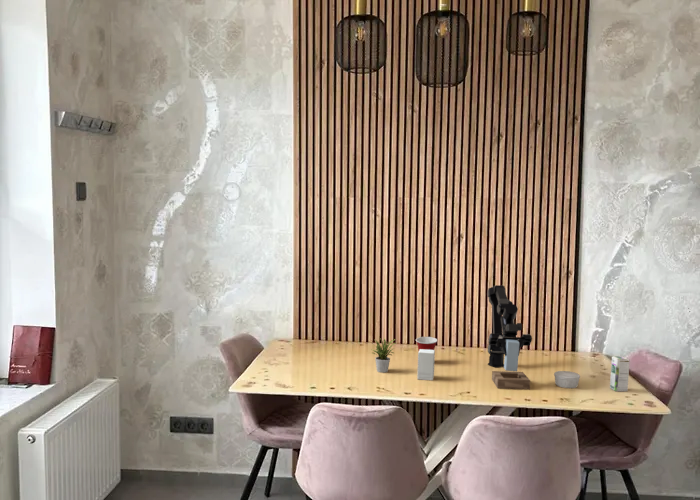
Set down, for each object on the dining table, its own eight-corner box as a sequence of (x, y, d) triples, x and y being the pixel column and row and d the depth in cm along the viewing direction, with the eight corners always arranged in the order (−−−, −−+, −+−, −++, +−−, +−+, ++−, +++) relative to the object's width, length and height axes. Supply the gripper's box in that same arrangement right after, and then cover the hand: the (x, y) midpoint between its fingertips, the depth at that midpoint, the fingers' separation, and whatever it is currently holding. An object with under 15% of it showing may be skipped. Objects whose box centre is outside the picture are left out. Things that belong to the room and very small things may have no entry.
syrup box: (609, 387, 300) (610, 355, 299) (621, 387, 301) (623, 355, 300) (615, 391, 295) (617, 359, 293) (628, 391, 295) (630, 359, 294)
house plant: (404, 369, 324) (405, 336, 323) (393, 376, 312) (394, 341, 310) (377, 366, 330) (377, 333, 329) (365, 372, 318) (366, 338, 316)
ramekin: (566, 390, 296) (567, 378, 295) (548, 383, 305) (548, 372, 305) (585, 387, 301) (585, 375, 300) (566, 381, 311) (567, 369, 310)
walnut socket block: (491, 379, 310) (492, 371, 310) (522, 380, 310) (522, 371, 309) (497, 388, 296) (498, 379, 296) (529, 389, 296) (530, 380, 295)
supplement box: (433, 380, 306) (434, 353, 305) (416, 379, 308) (417, 352, 307) (434, 376, 314) (435, 349, 313) (418, 375, 315) (419, 348, 314)
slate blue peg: (503, 367, 305) (506, 339, 303) (515, 368, 305) (517, 340, 303) (505, 370, 300) (508, 342, 299) (517, 371, 300) (519, 342, 298)
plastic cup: (412, 363, 336) (412, 340, 335) (418, 358, 346) (419, 335, 345) (433, 366, 332) (434, 342, 331) (439, 361, 342) (439, 338, 341)
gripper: (490, 315, 304) (494, 345, 294) (532, 316, 304) (537, 346, 294) (486, 329, 313) (490, 358, 303) (527, 330, 312) (531, 359, 302)
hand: (512, 355), depth 300 cm, fingers closed on slate blue peg, 5 cm apart
